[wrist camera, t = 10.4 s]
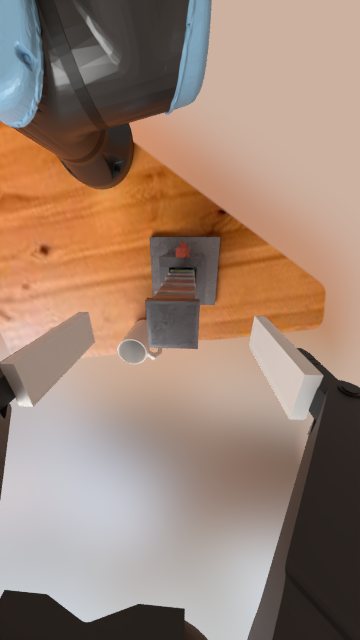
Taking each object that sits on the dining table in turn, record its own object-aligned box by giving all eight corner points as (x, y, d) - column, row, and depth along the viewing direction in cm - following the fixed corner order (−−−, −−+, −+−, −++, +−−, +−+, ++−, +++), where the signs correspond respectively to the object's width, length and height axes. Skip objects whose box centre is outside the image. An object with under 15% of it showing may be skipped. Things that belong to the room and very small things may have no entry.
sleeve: (151, 237, 42) (136, 235, 31) (219, 237, 41) (230, 235, 30) (154, 302, 49) (143, 320, 37) (214, 303, 48) (221, 322, 36)
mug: (129, 332, 53) (113, 356, 42) (138, 314, 50) (123, 334, 39) (160, 347, 54) (152, 374, 43) (170, 330, 52) (164, 353, 41)
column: (171, 267, 35) (145, 300, 15) (194, 267, 35) (199, 301, 15) (171, 290, 37) (148, 347, 17) (194, 290, 37) (197, 348, 17)
